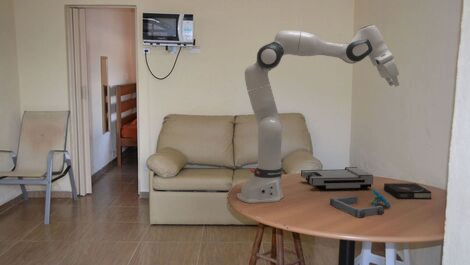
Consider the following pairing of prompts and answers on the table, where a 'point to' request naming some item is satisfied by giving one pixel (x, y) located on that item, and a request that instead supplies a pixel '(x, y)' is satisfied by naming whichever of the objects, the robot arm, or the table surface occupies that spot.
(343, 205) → the u-shaped wheeled base
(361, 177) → the game console
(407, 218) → the table surface
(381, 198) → the gear
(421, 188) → the portable cd player
